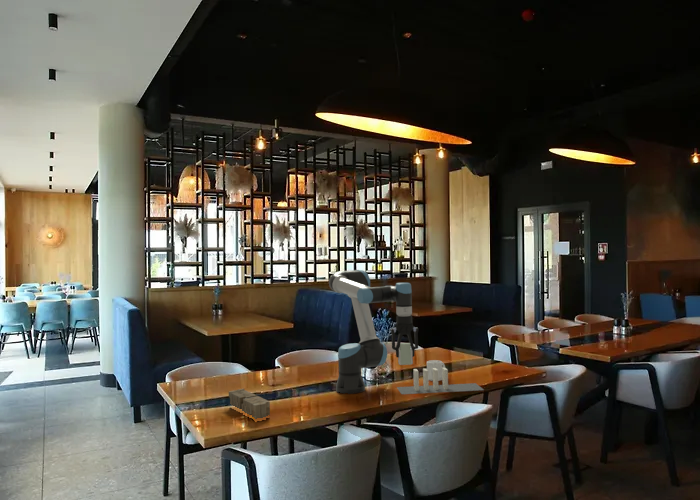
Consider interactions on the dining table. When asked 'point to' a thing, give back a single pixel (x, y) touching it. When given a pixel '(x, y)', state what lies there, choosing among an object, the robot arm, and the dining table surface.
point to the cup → (436, 365)
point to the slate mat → (440, 388)
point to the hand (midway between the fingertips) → (405, 363)
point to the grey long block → (250, 403)
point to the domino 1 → (405, 353)
